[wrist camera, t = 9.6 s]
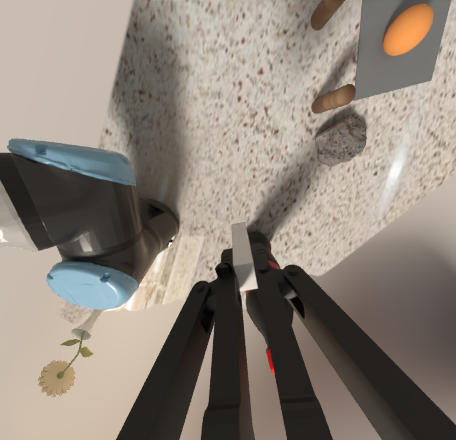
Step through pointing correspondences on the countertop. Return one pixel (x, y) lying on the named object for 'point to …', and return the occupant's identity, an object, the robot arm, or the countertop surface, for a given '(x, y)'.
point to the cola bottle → (254, 299)
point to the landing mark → (402, 64)
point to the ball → (408, 29)
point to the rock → (341, 141)
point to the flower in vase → (61, 371)
